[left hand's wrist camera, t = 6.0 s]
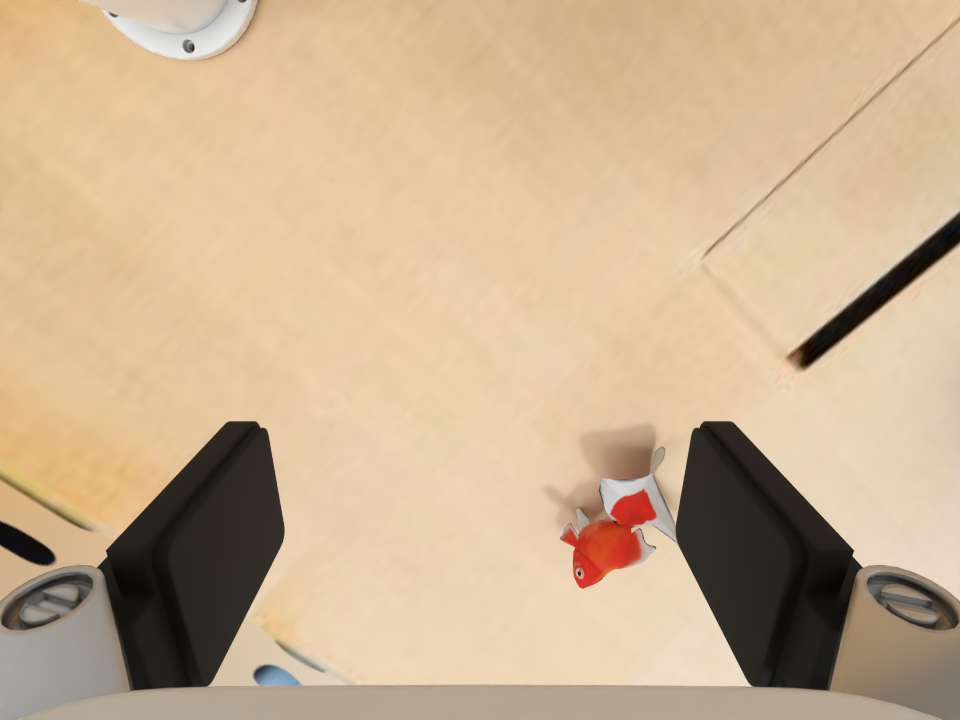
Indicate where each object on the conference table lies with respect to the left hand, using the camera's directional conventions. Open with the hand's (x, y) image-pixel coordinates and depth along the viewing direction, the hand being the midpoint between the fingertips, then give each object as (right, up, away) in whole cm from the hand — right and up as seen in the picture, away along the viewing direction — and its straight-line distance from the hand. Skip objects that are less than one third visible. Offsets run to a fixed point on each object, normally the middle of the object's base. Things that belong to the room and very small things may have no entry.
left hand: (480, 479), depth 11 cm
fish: (+14, -11, +43) cm, 47 cm away
